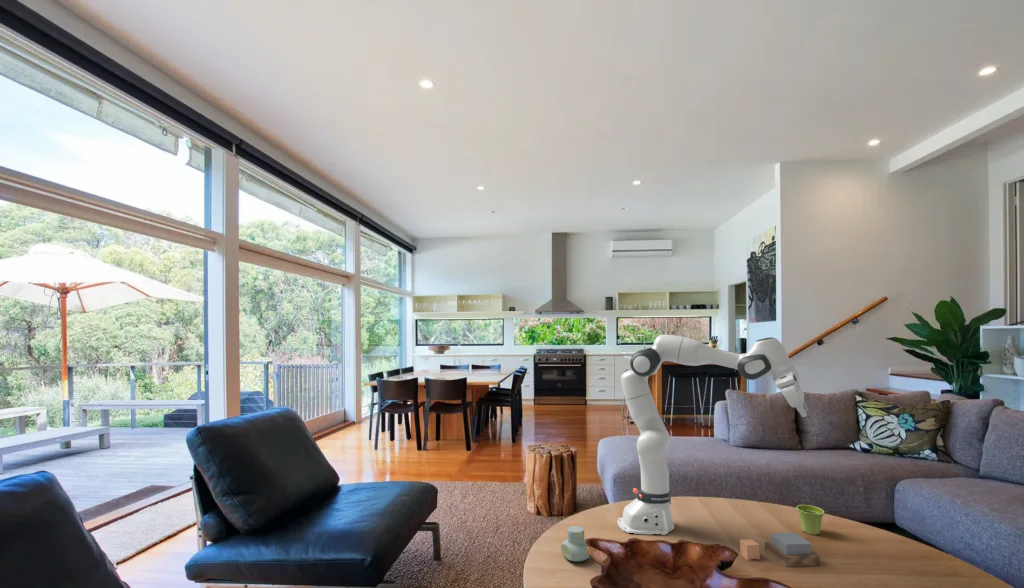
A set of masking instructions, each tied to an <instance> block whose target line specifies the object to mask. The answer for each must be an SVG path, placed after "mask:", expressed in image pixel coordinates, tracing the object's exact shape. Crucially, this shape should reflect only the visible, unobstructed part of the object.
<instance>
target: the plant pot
mask: <svg viewBox="0 0 1024 588" xmlns="http://www.w3.org/2000/svg"><path fill="white" fill-rule="evenodd" d="M796 510H797V513H798V516H799V520H800V528H801V530H802V532H805V534H809V535H813V536H816V535H821V527H822V520H823V516H824V514H825V511H824V510H823V508H821V507H817V506H814V505H809V504H798V505H797V506H796Z"/></svg>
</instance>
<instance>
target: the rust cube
mask: <svg viewBox="0 0 1024 588" xmlns="http://www.w3.org/2000/svg"><path fill="white" fill-rule="evenodd" d="M739 551H740V555H741V556H742V557H743V558H744V559H745V560H747V561H752V560H751V559H758V560H761V558H760V557H761V555H760V551H761V550H760V544H759V543H758V542H756V541H755V540H754V539H753V538H749V539H746V538H745V539H739Z"/></svg>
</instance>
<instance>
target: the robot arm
mask: <svg viewBox="0 0 1024 588" xmlns="http://www.w3.org/2000/svg"><path fill="white" fill-rule="evenodd" d="M664 362H670V363H671V362H672V363H675V364H680V365H684V366H691V367H692V366H693V367H697V366H703V365H718V366H722V367H726V368H729V369H730V368H731V369H734V370H737V371H738V373H739V375H740V376H741V377H742V378H744V379H746V380H750V381H751V380H752V381H754V380H755V381H756V380H759V379H761V378H762V377H763V376H764V375H766V374H769V376H770V378H771V380H772V381H773V383H774V385H775V387H776V388H777V390H778V389H779V390H780V392H781V394H782V395H783V396H784V398H785V400H786V402H787V403H788V404H789V406H790V407H792V408H795V409H796V410H797V412H798V413H799V415H800V416H801V417H802V418H806V417H808V413H807V412H808V410H809V408H808V407H807V404H806V401H805V399H804V398H805V394H804V391H803V390H802V388H801V386H800V381H799V380H800V379H801V376H800V373H799V372H798V371H797V368H796V367H795V365H794V364H793V362H791V360H790V357H789V354H788V352H787V351H786V349H785V347H784V346H783V344H782V343H781V342H780V340H779V339H778V338H776V337H772V336H770V337H764V338H760V339H757V340H756V341H755V342H754V344H753V345H752V346H751V347H750V348H749V350H748V351H747V352H744V353H740V352H732V351H727V350H723V349H719V348H715V347H712V346H710V345H708V344H706V343H704V342H702V341H699V340H696V339H693V338H690V337H686V336H681V335H677V334H676V335H675V334H660V335H658V336H657V337H656V338H655V340H654V341H653V345H652V346H651V347H648V348H642V349H640V350H638V351H636V352H635V353H633V355H632V356H631V358H630V361H629V365H630V368H631V369H628V370H626V371H625V372H624V373H622V374H621V376H620V384H621V389H622V394H623V397H624V400H625V403H626V406H627V408H628V412H629V415H630V418H631V419H632V421H633V422H634V425H636V428H637V429H638V431H639V434H640V435H639V436H638V438H637V441H636V450H637V456H638V457H637V458H638V463H639V466H640V489H639V490H638V489H637V488H636V487H634V488H632V492H633V493H634V495H636V498H634V500H632V501H631V502H629V503H628V504H627V505H625V506H624V507H623V512H622V517H618V518H617V523H616V525H618V527H619V529H621V531H623V532H624V531H625V533H626V532H627V534H629V533H634V534H633V535H653V534H661V536H667V535H668V534H669V532H671V531H673V530H674V529H675V523H674V521H673V517H672V511H671V505H672V503H671V502H672V501H671V500H672V497H671V490H670V478H669V477H670V473H669V469H668V463H667V449H668V448H669V447H670V445H671V443H670V442H671V436H670V433H669V431H668V430H667V427H666V426H665V425H666V424H665V423H664V421H663V419H662V417H661V415H660V413H659V411H658V409H657V406H656V403H655V400H654V398H653V395H652V394H653V393H652V392H651V389H650V386H649V383H648V381H649V380H648V379H649V378H650V377H651V376H653V375H655V374H657V372H658V371H660V370H661V368H662V366H663V363H664ZM666 534H667V535H666Z"/></svg>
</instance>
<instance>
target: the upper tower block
mask: <svg viewBox="0 0 1024 588" xmlns="http://www.w3.org/2000/svg"><path fill="white" fill-rule="evenodd" d="M770 542H771V544H773V545H774V546H775V547H777V548H778V549H779V550H781V551H782V552H783V553H785V554H786V555H802V554H812V551H813V548H812V547H813V546H812V543H811V542H810V541H808V540H807V539H805V538H804V537H802V536H801V535H800V534H798V533H797V532H792V531H791V532H771V533H770Z"/></svg>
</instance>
